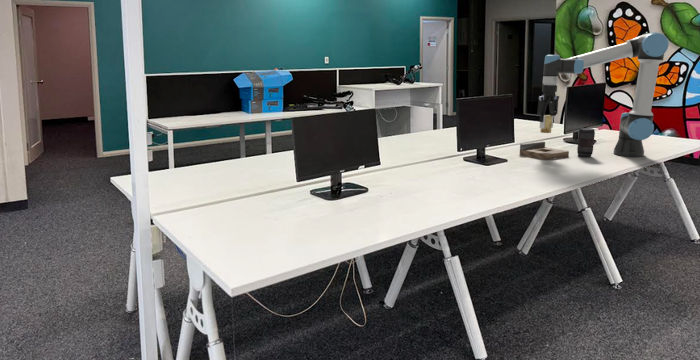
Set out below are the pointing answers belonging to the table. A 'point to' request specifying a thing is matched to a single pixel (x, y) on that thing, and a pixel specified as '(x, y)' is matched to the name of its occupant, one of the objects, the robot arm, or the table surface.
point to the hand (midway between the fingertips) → (546, 127)
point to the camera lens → (585, 142)
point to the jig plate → (541, 151)
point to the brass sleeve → (547, 124)
